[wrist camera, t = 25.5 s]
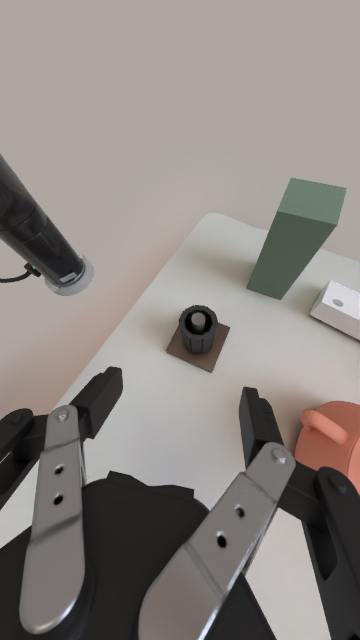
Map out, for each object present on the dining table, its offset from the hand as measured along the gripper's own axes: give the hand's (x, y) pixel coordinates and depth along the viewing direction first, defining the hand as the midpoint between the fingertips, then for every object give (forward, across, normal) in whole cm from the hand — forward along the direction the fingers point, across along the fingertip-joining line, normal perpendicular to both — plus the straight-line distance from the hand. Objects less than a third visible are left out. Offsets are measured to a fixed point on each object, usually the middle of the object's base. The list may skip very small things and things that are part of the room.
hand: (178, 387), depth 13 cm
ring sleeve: (+23, 0, +8) cm, 24 cm away
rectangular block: (+34, -13, -2) cm, 37 cm away
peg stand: (+24, 0, +9) cm, 25 cm away
